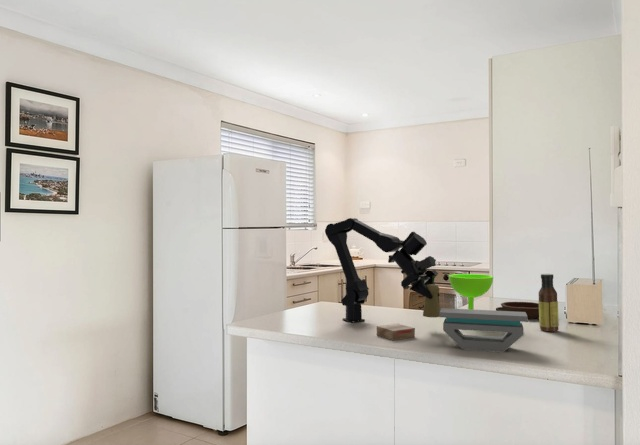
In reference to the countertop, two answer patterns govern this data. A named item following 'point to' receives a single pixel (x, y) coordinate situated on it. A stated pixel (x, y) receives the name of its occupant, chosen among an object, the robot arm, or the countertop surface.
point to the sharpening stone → (483, 328)
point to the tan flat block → (395, 331)
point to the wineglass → (471, 285)
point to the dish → (521, 308)
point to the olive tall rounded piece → (432, 302)
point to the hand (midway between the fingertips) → (435, 297)
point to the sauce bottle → (548, 305)
